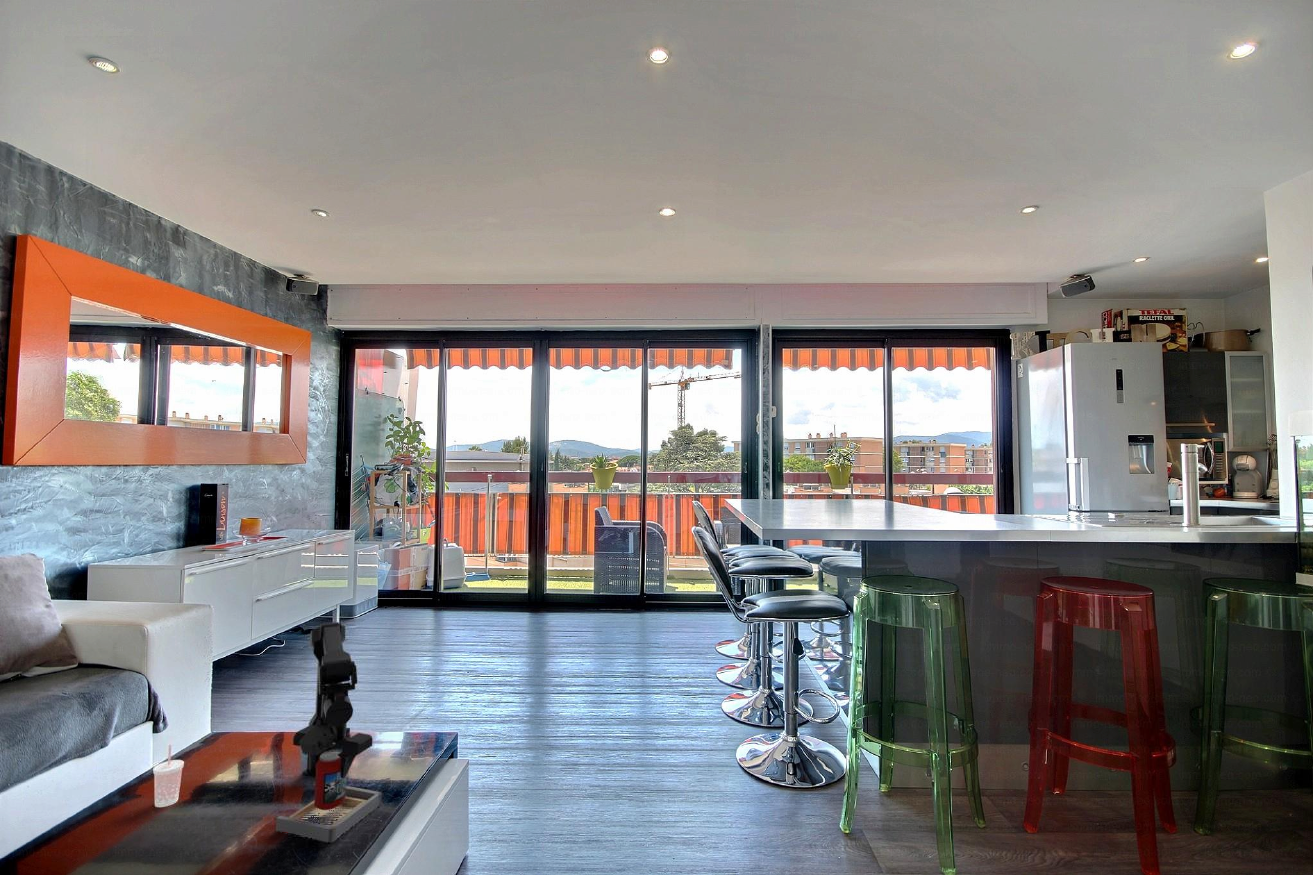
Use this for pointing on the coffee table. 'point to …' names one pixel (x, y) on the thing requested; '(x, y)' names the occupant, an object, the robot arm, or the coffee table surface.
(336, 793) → the beverage can
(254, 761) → the coffee table surface
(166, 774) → the beverage cup
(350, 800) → the tray
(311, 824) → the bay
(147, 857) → the coffee table surface
